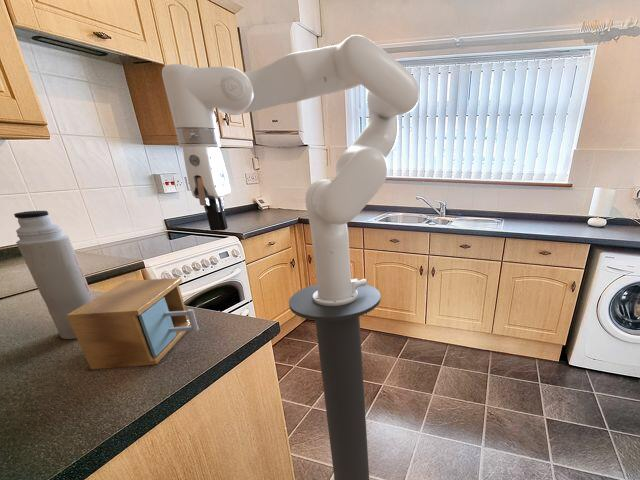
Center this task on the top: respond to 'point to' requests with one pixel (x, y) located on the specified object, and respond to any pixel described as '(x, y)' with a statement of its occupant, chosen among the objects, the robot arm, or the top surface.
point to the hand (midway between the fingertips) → (219, 229)
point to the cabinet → (125, 323)
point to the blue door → (163, 325)
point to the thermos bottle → (53, 267)
